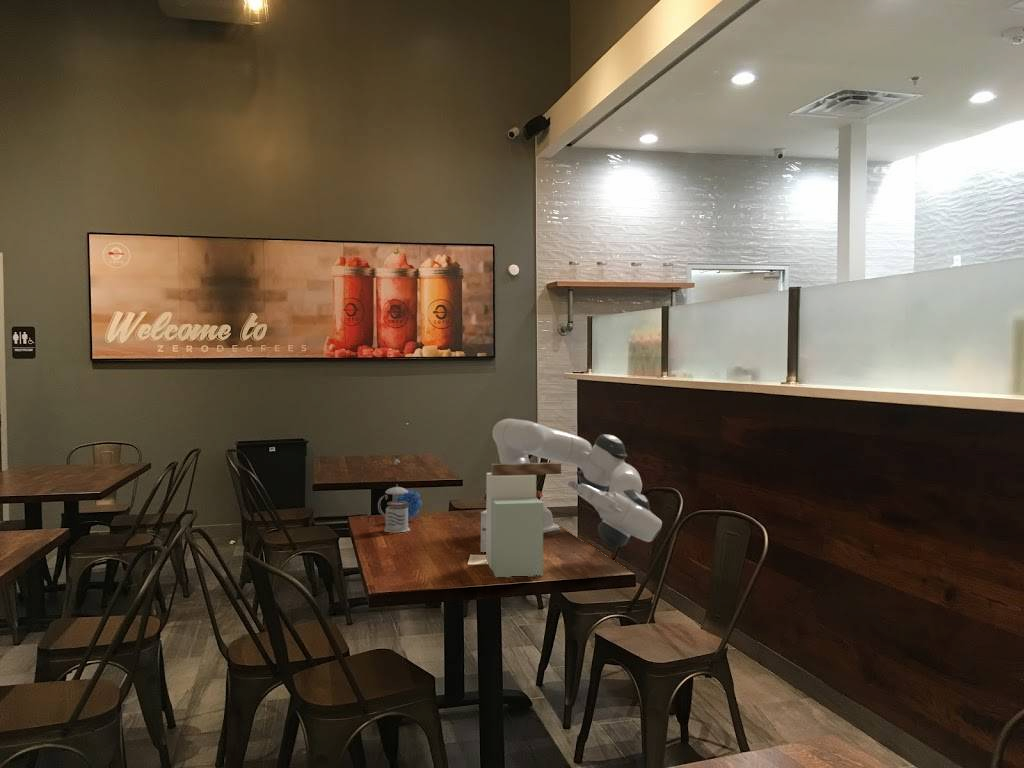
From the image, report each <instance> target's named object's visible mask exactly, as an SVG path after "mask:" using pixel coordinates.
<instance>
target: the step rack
mask: <svg viewBox="0 0 1024 768" xmlns="http://www.w3.org/2000/svg"><path fill="white" fill-rule="evenodd" d="M485 474H486V477H485V478H486V482H485V483H486V491H485V492H486V504H485V505H486V507H485V508H486V509H485V510H486V553H485V555H486V557H485V558H486V560H487V561H486V560H485V561H486V563H487V562H488V563H487V565H488V564H489V565H488V566H489V568H490V570H491V571H493V572H492V574H493V573H494V574H493V576H494V577H495V576H496V577H506V578H510V577H509V576H528V577H543V576H544V533H543V506H544V502H543V501H542V500H541V499H539V497H537V496H536V492H537V475H492V474H491V472H486V473H485ZM534 575H535V576H534ZM536 575H537V576H536ZM539 575H540V576H539ZM496 577H495V578H496Z"/></svg>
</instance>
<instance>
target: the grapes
mask: <svg viewBox="0 0 1024 768" xmlns="http://www.w3.org/2000/svg"><path fill="white" fill-rule="evenodd" d="M407 490H408V491H409V492H408V493H407V494H396V498H394V499H392V501H394V502H395V501H398V502H401V501H403V502H407V504H406V505H403V506H407V507H408V522H409V521H411V518H412V517H416V516H417V515H418V514H419V508H421V506H422V504H423V502H422V500H421V499H420V497H421V494H420V493H419V492H418V491H417V492H414V491H413V489H412V488H408V489H407ZM397 509H399V508H397ZM394 514H395V513H393V514H392V515H394ZM403 516H404V515H403ZM397 517H401V516H397ZM396 520H399V519H396ZM403 520H404V519H403ZM399 521H400V520H399Z"/></svg>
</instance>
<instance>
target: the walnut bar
mask: <svg viewBox="0 0 1024 768" xmlns="http://www.w3.org/2000/svg"><path fill="white" fill-rule="evenodd" d="M490 466H491V472H490V473H491V474H492V475H535V476H537V475H561V474H562V463H561V462H557V461H555V462H530V463H504V464H501V463H491V465H490Z"/></svg>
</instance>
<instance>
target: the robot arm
mask: <svg viewBox="0 0 1024 768" xmlns="http://www.w3.org/2000/svg"><path fill="white" fill-rule="evenodd" d="M492 438H493V441H494V442H495V444H496V448H497V453H498V457H499V462H500V463H499V464H504V463H531V461H530V459H529V455H531V456H535V457H538V458H541V459H545V460H549V461H554V462H559V463H561V464H567V465H571V466H576V467H578V468H579V469H580V470H577V471H576V475H577V476H578V481H579V483H577V482H575V481H573V480H571V479H570V480H569V481H568V483H567V486H568V487H570V488H572V489H574V490H575V491H576V494H577V495H578V496H579V497H580V498H582V499H583V500H584V501H586V502H587V503H589V504H590V505H592V507H593V508H595V510H596V512H598V513H597V514H598V515H599V518H600V519H602V521H600V523H599V524H598V526H597V531H598V535H599V538H600V539H601V540H602V541H603V542H604V543H605V544H606V545H608V546H610V547H613V548H619V547H620V548H621V547H623V546H626V545H627V544H628V541H629V540H630V537H631V536H632V537H635V538H636V539H639V540H641V541H644V542H647V543H650V542H652V541H653V540H655V539H656V537H657V536H658V535H659V533H660V532H661V530H662V527H663V521H662V520H661V519H660V518H659V517H658V516H656V514H654V513H653V512H652V511H651V510H650V502H649V499H648V497H647V496H645V495H644V494H642V490H643V489H642V488H643V482H642V479H641V476H640V473H639V472H638V470H637V469H636V468H635V467H633V466H632V465H631V464H630V463H626V462H625V458H627V457H628V454H627V453H626V448H625V444H624V443H623V441H622V440H620V438H618V437H617V436H615V435H614V434H613V435H612V434H605V433H603V434H600V435H599V436H598V437H597V439H596V440H595V441H594V445H592V444H591V443H590V441H588V440H587V439H584V438H583V437H581V436H578V435H576V434H575V433H574V434H573V433H570V432H566V431H563V430H559V429H556V428H551V427H549V426H545V425H543V424H540V423H537V422H534V421H530V420H525V419H516V418H504V419H502V420H499V421H498V422H497V423H495V425H494V426H493V428H492ZM607 490H608V491H607ZM543 496H544V494H543V492H542V491H539V490H536V497H537V498H542V497H543ZM559 527H560V525H558V524H556V523H554V518H553V514H552V511H551V510H550V509H548V508H547V507H546V506H545V505H543V534H544V533H550V532H553V531H559V530H560V528H559Z"/></svg>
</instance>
